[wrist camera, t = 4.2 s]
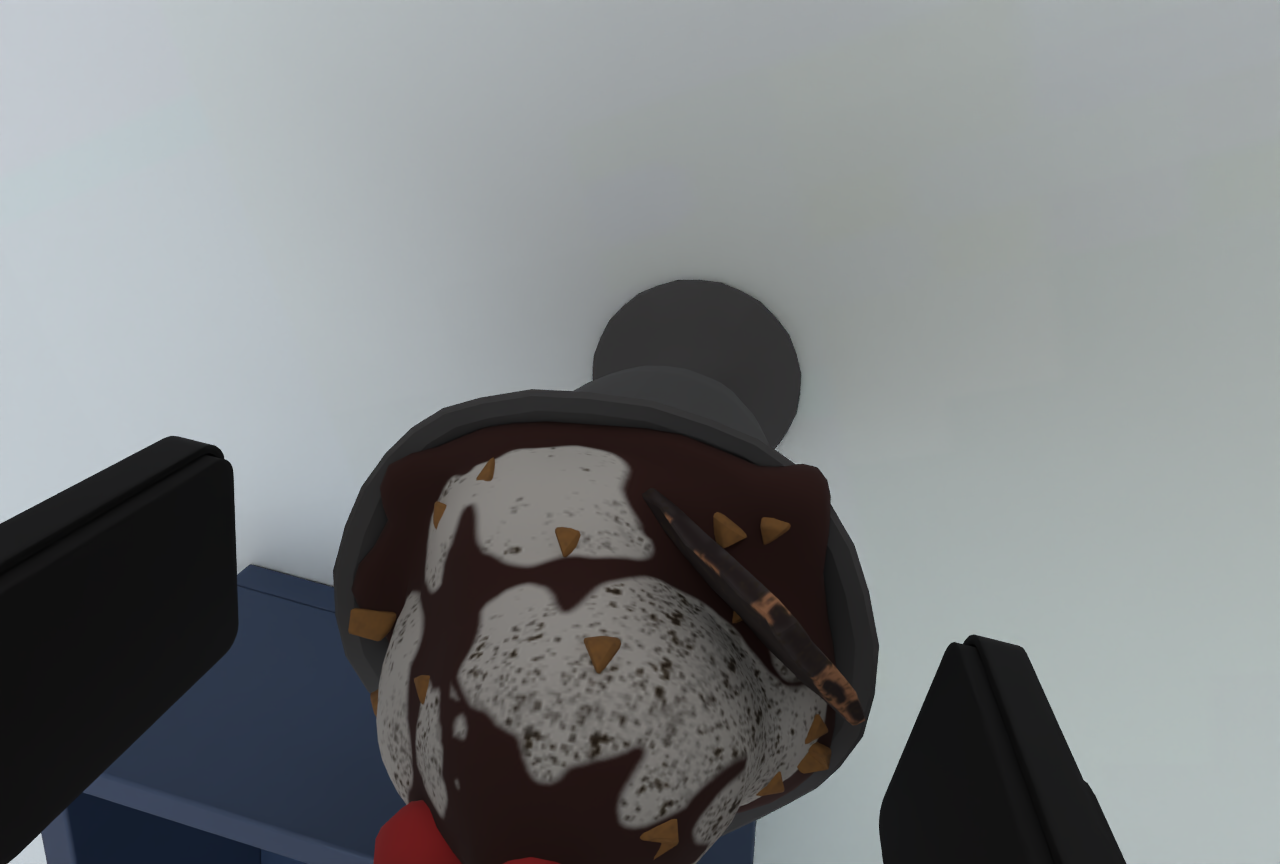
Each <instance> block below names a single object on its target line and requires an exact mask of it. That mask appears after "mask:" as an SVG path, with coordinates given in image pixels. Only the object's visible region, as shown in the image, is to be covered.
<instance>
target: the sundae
mask: <svg viewBox="0 0 1280 864" xmlns="http://www.w3.org/2000/svg"><path fill="white" fill-rule="evenodd" d="M800 385H801V371H800V367H799V363H798V359H797V355H796V352H795V349H794V347H793V344H792V342H791V339H790V337H789V334H788V333H787V332H786V330H785V329H784V328H783V326H782V325H781V324H780V322H779V321H778V320H777V318H776V317H775V316H774V315H773V314H772V313H771V312H770V311H769V310H768V309H767V308H766V307H765V306H764V305H763V304H762V303H761V302H760V301H758V300H756V299H754V298H753V297H751V296H749V295H747V294H746V293H744V292H742V291H740V290H737V289H735V288H733V287H730V286H728V285H725V284H723V283H719V282H711V281H703V280H677V281H673V282H669V283H666V284H662V285H658V286H656V287H654V288H651V289H649V290H646V291H644V292H642V293H639V294H638V295H637V296H635V297H634V298H633V299H632V300H630V301H629V302H628V303H627V304H625V305H624V306H623V307H622V308H621V309H620V310H619V311H618V312H617V313H616V314H615V315H614V316H613V317H612V319H611V320H610V321H609V323H608V324H607V326H606V328H605V330H604V332H603V334H602V336H601V338H600V341H599V343H598V346H597V349H596V352H595V354H594V361H593V381H591V382H589V383H587V384H585V385H583V386H582V387H580V388H578V389H576V390H575V391H554V390H535V389H531V390H525V391H519V392H512V393H506V394H500V395H494V396H488V397H482V398H478V399H474V400H471V401H467V402H464V403H460V404H456V405H453V406H449V407H446V408H443V409H441V410H440V411H438V412H436V413H435V414H433V415H431V416H430V417H428V418H427V419H425V420H423V421H422V422H420V423H419V424H417V425H415V426H414V427H412V428H411V429H410V430H409V431H408V432H407V433H406V434H405V435H404V436H403V437H402V438H401V439H400V440H399V441H398V442H397V443H396V444H395V445H394V446H393V447H391V448H390V449H389V450H388V451H387V452H386V454H385V455H384V456H383V458H382V459H381V461H380V462H379V463H378V465H377V466H376V468H375V469H374V470H373V472H372V473H371V474H370V476H369V477H368V479H367V480H366V481H365V483H364V484H363V486H362V487H361V489H360V492H359V494H358V497H357V499H356V501H355V504H354V506H353V508H352V511H351V513H350V515H349V518H348V520H347V523H346V525H345V528H344V532H343V536H342V540H341V543H340V547H339V551H338V555H337V558H336V562H335V566H334V570H333V578H334V599H335V616H336V620H337V624H338V628H339V632H340V636H341V640H342V644H343V648H344V652H345V656H346V657H347V659H348V661H349V662H350V664H351V665H352V667H353V669H354V670H355V672H356V673H357V675H358V676H359V678H360V680H361V681H362V683H363V684H364V686H365V688H366V689H367V691H368V692H369V693H370V694H371V695H370V699H371V703H372V707H373V711H374V714H375V716H376V717H377V719H376V724H377V735H378V743H379V748H380V752H381V757H382V760H383V763H384V765H385V767H386V770H387V772H388V775H389V777H390V779H391V781H392V782H393V784H394V786H395V788H396V790H397V792H398V794H399V795H400V796H401V798H402V799H403V801H404V802H405V803H406V806H404V807H403V808H402V809H400V810H399V811H398V812H397V813H396V814H395V815H394V816H393V817H392V818H391V819H390V820H389V821H387V822H386V823H385V824H384V825H383V826H382V827H381V829H380V831H379V833H378V835H377V837H376V839H375V852H374V864H696V863H697V862H698V861H699V860H700V859H701V857H702V856H703V855H704V854H705V853H706V852H707V851H708V850H709V848H710V847H711V846H712V845H713V844H714V843H715V842H716V841H717V839H718V838H719V837H721V836H723V835H726V834H728V833H730V832H732V831H734V830H736V829H738V828H740V827H742V826H745V825H747V824H749V823H751V822H753V821H755V820H757V819H759V818H761V817H763V816H765V815H767V814H769V813H771V812H773V811H775V810H777V809H779V808H781V807H783V806H785V805H787V804H789V803H791V802H792V801H794V800H796V799H798V798H800V797H801V796H803V795H805V794H807V793H809V792H810V791H812V790H814V789H816V788H817V787H818V786H820V785H821V784H822V783H823V782H824V781H825V780H826V779H827V778H828V777H829V776H831V775H832V774H833V773H834V772H835V771H836V770H837V769H838V768H839V767H840V766H841V765H842V764H843V762H844V761H845V760H846V758H847V757H848V756H849V754H850V753H851V752H852V750H853V749H854V748H855V746H856V745H857V744H858V742H859V741H860V740H861V738H862V737H863V734H864V731H865V727H866V724H867V720H868V716H869V713H870V709H871V706H872V702H873V699H874V695H875V684H876V674H877V663H878V652H879V643H878V638H877V632H876V627H875V622H874V617H873V611H872V606H871V601H870V595H869V591H868V588H867V584H866V581H865V578H864V575H863V572H862V568H861V565H860V562H859V559H858V555H857V552H856V549H855V546H854V544H853V542H852V540H851V538H850V537H849V535H848V533H847V531H846V530H845V528H844V526H843V525H842V523H841V521H840V519H839V518H838V516H837V514H836V512H835V511H834V509H833V507H832V505H831V504H830V500H831V496H830V491H829V486H828V481H827V479H826V478H825V477H824V475H823V474H822V473H821V471H820V470H819V469H818V468H817V467H814V466H810V465H805V464H797V465H796V464H794V463H793V462H792V461H790V460H789V459H787V458H786V457H784V456H783V455H781V454H780V453H779V452H777V451H776V450H774V448H776V447H777V445H778V444H779V443H780V441H781V440H782V438H783V437H784V435H785V434H786V432H787V431H788V429H789V427H790V425H791V423H792V421H793V419H794V417H795V415H796V413H797V408H798V402H799V397H800Z"/></svg>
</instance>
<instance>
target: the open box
mask: <svg viewBox="0 0 1280 864" xmlns="http://www.w3.org/2000/svg"><path fill="white" fill-rule="evenodd" d="M237 591H238V620H239V625H238V632H237V636H236V638H235V641H234V643H233V645H232V646H231V648H230V649H229V651H228V652H227V653H226V654H225V655H224V656H223V657H222V658H221V659H220V660H219V661H218V662H217V663H216V664H215V665H214V666H213V667H212V668H211V669H210V670H209V671H208V672H207V673H205V674H204V675H203V676H202V677H201V678H200V679H199V680H198V681H197V682H196V683H195V684H194V685H193V686H192V687H191V688H190V689H189V690H188V691H187V692H186V693H185V694H184V695H183V696H182V697H181V698H180V699H179V700H178V701H177V702H175V703H174V704H173V705H172V706H171V707H170V708H169V709H168V710H167V711H166V712H165V713H164V714H163V715H162V716H161V717H160V718H159V719H158V720H157V721H156V722H155V723H154V724H153V725H152V726H151V727H150V728H149V729H148V730H146V731H145V732H144V733H143V734H142V735H141V736H140V737H139V738H138V739H137V740H136V741H135V742H134V743H133V744H132V745H131V746H130V747H129V748H128V749H127V750H126V751H125V752H124V753H123V754H122V755H121V756H120V757H119V758H118V759H116V760H115V761H114V762H113V763H112V764H111V765H110V766H109V767H108V768H107V769H106V770H105V771H104V772H103V773H102V774H101V775H100V776H99V777H98V778H97V779H96V780H95V781H94V782H93V783H92V784H91V785H90V786H89V787H88V788H86V789H85V790H84V791H83V792H82V793H81V794H80V795H79V796H78V797H77V798H76V799H75V800H74V801H73V802H72V803H71V804H70V805H69V806H68V807H67V808H66V809H65V810H64V811H63V812H62V813H61V814H60V815H59V816H57V817H56V818H55V819H54V820H53V821H52V822H51V823H50V824H49V825H48V826H47V827H46V828H45V829H44V830H43V831H42V832H41V834H42V839H43V845H44V850H45V855H46V860H47V864H374V852H375V839H376V837H377V835H378V833H379V831H380V829H381V827H382V826H383V825H384V824H385V823H386V822H387V821H389V820H390V819H391V818H392V817H393V816H394V815H395V814H396V813H397V812H398V811H399V810H400V809H402V808H403V807H404V806H406V803H405V802H404V801H403V799H402V798H401V796H400V795H399V794H398V792H397V790H396V788H395V786H394V784H393V782H392V781H391V779H390V777H389V775H388V772H387V770H386V767H385V765H384V763H383V760H382V757H381V752H380V748H379V743H378V735H377V724H376V719H377V717H376V716H375V714H374V711H373V707H372V703H371V699H370V695H371V694H370V693H369V692H368V691H367V689H366V688H365V686H364V684H363V683H362V681H361V680H360V678H359V676H358V675H357V673H356V672H355V670H354V669H353V667H352V665H351V664H350V662H349V661H348V659H347V657H346V656H345V652H344V648H343V644H342V640H341V636H340V632H339V628H338V624H337V620H336V616H335V599H334V587H331V586H327V585H324V584H320V583H316V582H313V581H309V580H306V579H302V578H298V577H295V576H291V575H288V574H284V573H280V572H277V571H273V570H269V569H266V568H262V567H259V566H255V565H249V566H247V567H246V568H245V569H244V570H243V571H241V572H240V573H239V574H238V575H237ZM755 828H756V820H755V821H753V822H751V823H749V824H747V825H745V826H742V827H740V828H738V829H736V830H734V831H732V832H730V833H728V834H726V835H723V836H721V837H719V838H718V839H717V841H716V842H715V843H714V844H713V845H712V846H711V847H710V848H709V850H708V851H707V852H706V853H705V854H704V855H703V856H702V857H701V859H700V860H699V861H698V862H697V863H696V864H753V859H754V843H755Z"/></svg>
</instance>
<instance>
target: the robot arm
mask: <svg viewBox="0 0 1280 864" xmlns="http://www.w3.org/2000/svg"><path fill="white" fill-rule="evenodd" d="M238 625H239V620H238V591H237V562H236V534H235V505H234V476H233V468H232V465H231V463H230V462H229V461H227V460H225V459H224V455H223V453H222V451H221V450H220V449H219V448H218V447H216V446H214V445H210V444H206V443H202V442H198V441H194V440H190V439H186V438H182V437H177V436H170V437H166V438H164V439H162V440H160V441H158V442H156V443H154V444H152V445H150V446H148V447H146V448H144V449H143V450H141V451H139V452H137V453H135V454H133V455H131V456H129V457H127V458H125V459H123V460H122V461H120V462H118V463H116V464H114V465H112V466H110V467H108V468H106V469H104V470H102V471H100V472H99V473H97V474H95V475H93V476H91V477H89V478H87V479H85V480H83V481H81V482H79V483H78V484H76V485H74V486H72V487H70V488H68V489H66V490H64V491H62V492H60V493H58V494H57V495H55V496H53V497H51V498H49V499H47V500H45V501H43V502H41V503H39V504H37V505H35V506H34V507H32V508H30V509H28V510H26V511H24V512H22V513H20V514H18V515H16V516H14V517H13V518H11V519H9V520H7V521H5V522H3V523H1V524H0V864H7V863H9V862H10V861H11V860H12V859H14V858H15V857H16V856H17V855H18V854H19V853H20V852H21V851H22V850H23V849H24V848H25V847H26V846H27V845H29V844H30V843H31V842H32V841H33V840H34V839H35V838H36V837H37V836H38V835H39V834H40V833H41V832H42V831H43V830H44V829H45V828H46V827H47V826H48V825H49V824H50V823H51V822H52V821H53V820H54V819H55V818H56V817H57V816H59V815H60V814H61V813H62V812H63V811H64V810H65V809H66V808H67V807H68V806H69V805H70V804H71V803H72V802H73V801H74V800H75V799H76V798H77V797H78V796H79V795H80V794H81V793H82V792H83V791H84V790H85V789H86V788H88V787H89V786H90V785H91V784H92V783H93V782H94V781H95V780H96V779H97V778H98V777H99V776H100V775H101V774H102V773H103V772H104V771H105V770H106V769H107V768H108V767H109V766H110V765H111V764H112V763H113V762H114V761H115V760H116V759H118V758H119V757H120V756H121V755H122V754H123V753H124V752H125V751H126V750H127V749H128V748H129V747H130V746H131V745H132V744H133V743H134V742H135V741H136V740H137V739H138V738H139V737H140V736H141V735H142V734H143V733H144V732H145V731H146V730H148V729H149V728H150V727H151V726H152V725H153V724H154V723H155V722H156V721H157V720H158V719H159V718H160V717H161V716H162V715H163V714H164V713H165V712H166V711H167V710H168V709H169V708H170V707H171V706H172V705H173V704H174V703H175V702H177V701H178V700H179V699H180V698H181V697H182V696H183V695H184V694H185V693H186V692H187V691H188V690H189V689H190V688H191V687H192V686H193V685H194V684H195V683H196V682H197V681H198V680H199V679H200V678H201V677H202V676H203V675H204V674H205V673H207V672H208V671H209V670H210V669H211V668H212V667H213V666H214V665H215V664H216V663H217V662H218V661H219V660H220V659H221V658H222V657H223V656H224V655H225V654H226V653H227V652H228V651H229V649H230V648H231V646H232V645H233V643H234V641H235V638H236V636H237V632H238ZM879 834H880V841H881V849H882V856H883V864H1126V862H1125V860H1124V858H1123V855H1122V853H1121V851H1120V849H1119V847H1118V844H1117V842H1116V840H1115V838H1114V836H1113V834H1112V831H1111V829H1110V827H1109V825H1108V823H1107V820H1106V818H1105V816H1104V814H1103V812H1102V809H1101V807H1100V805H1099V803H1098V801H1097V798H1096V796H1095V794H1094V793H1093V791H1092V790H1091V788H1090V786H1089V785H1088V783H1086V782H1085V781H1084V780H1083V778H1082V776H1081V773H1080V771H1079V769H1078V767H1077V765H1076V762H1075V760H1074V758H1073V756H1072V753H1071V751H1070V749H1069V747H1068V744H1067V742H1066V740H1065V738H1064V736H1063V733H1062V731H1061V729H1060V727H1059V724H1058V722H1057V720H1056V718H1055V715H1054V713H1053V711H1052V709H1051V707H1050V704H1049V702H1048V700H1047V698H1046V695H1045V693H1044V691H1043V689H1042V686H1041V684H1040V682H1039V680H1038V678H1037V675H1036V673H1035V671H1034V669H1033V666H1032V664H1031V662H1030V660H1029V657H1028V655H1027V653H1026V652H1025V650H1024V649H1023V648H1022V647H1020V646H1018V645H1014V644H1010V643H1006V642H1002V641H998V640H994V639H990V638H986V637H982V636H978V635H971V636H969V637H968V638H967V639H966V640H965V641H964V643H963V644H960V643H956V642H953V643H951V644H950V645H949V646H948V647H947V649H946V651H945V653H944V656H943V658H942V660H941V663H940V665H939V667H938V670H937V672H936V675H935V677H934V679H933V682H932V684H931V686H930V689H929V691H928V694H927V696H926V698H925V701H924V703H923V706H922V708H921V710H920V713H919V715H918V717H917V720H916V722H915V725H914V727H913V729H912V732H911V734H910V736H909V739H908V741H907V744H906V746H905V748H904V751H903V753H902V755H901V758H900V760H899V763H898V765H897V767H896V770H895V772H894V775H893V777H892V779H891V782H890V784H889V786H888V789H887V791H886V794H885V796H884V799H883V802H882V805H881V810H880V817H879Z"/></svg>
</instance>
